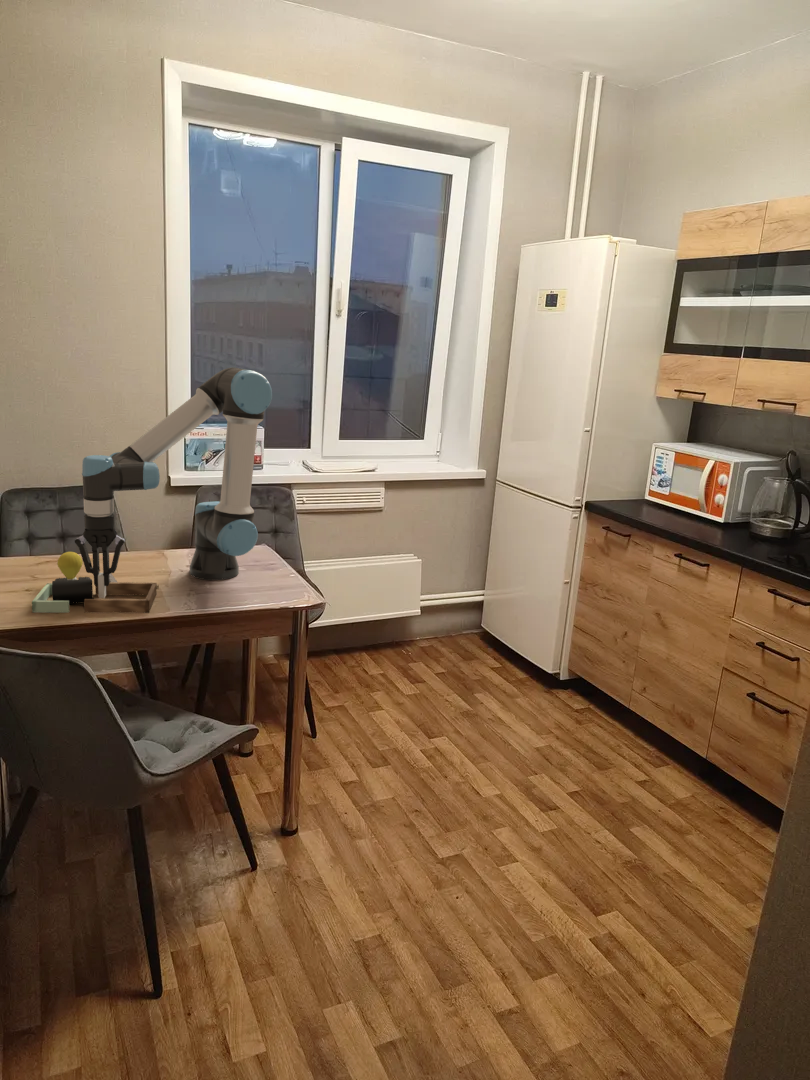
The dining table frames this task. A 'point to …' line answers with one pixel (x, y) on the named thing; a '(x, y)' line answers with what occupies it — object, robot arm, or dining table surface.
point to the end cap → (72, 590)
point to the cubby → (123, 604)
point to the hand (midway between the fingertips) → (102, 596)
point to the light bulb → (70, 565)
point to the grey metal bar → (112, 578)
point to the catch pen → (48, 602)
